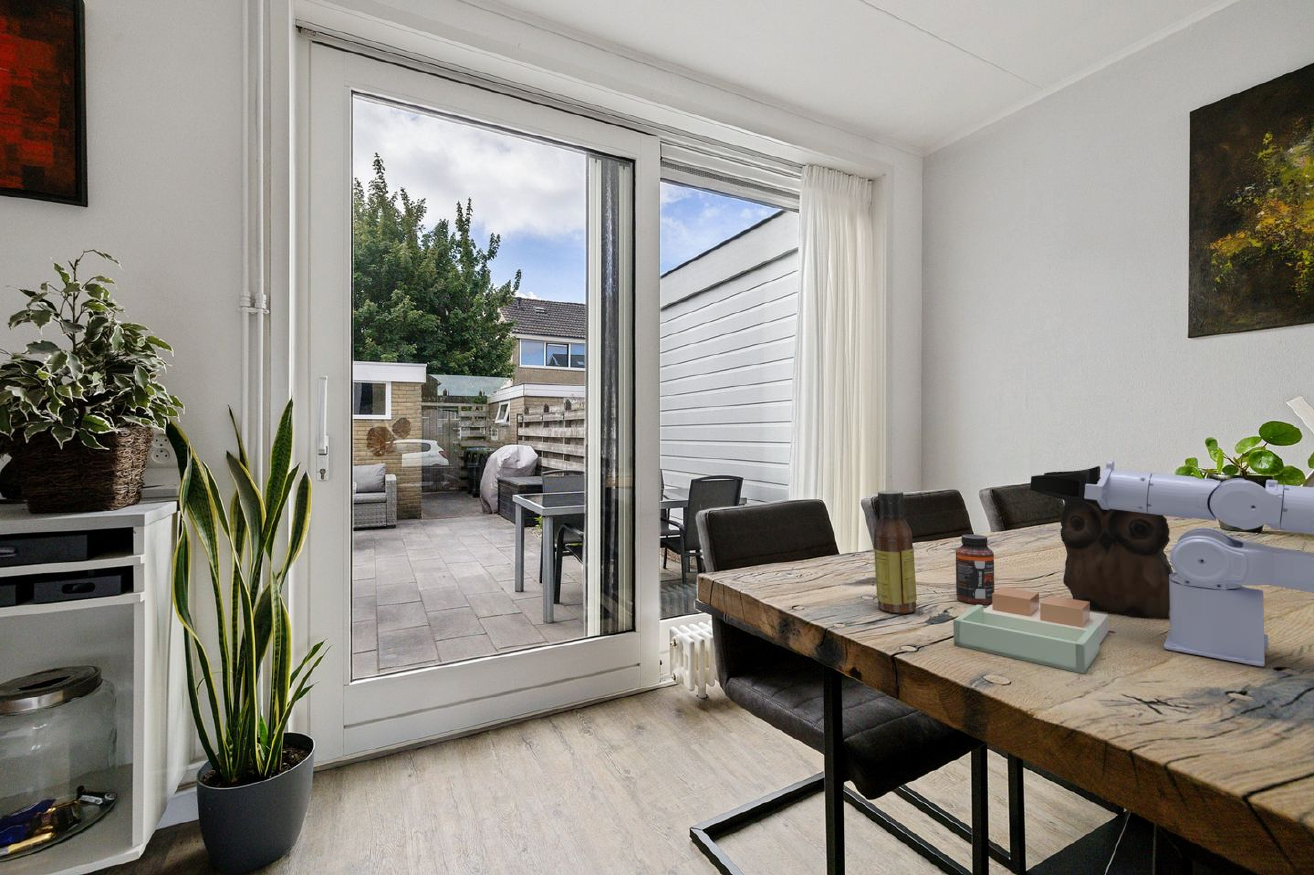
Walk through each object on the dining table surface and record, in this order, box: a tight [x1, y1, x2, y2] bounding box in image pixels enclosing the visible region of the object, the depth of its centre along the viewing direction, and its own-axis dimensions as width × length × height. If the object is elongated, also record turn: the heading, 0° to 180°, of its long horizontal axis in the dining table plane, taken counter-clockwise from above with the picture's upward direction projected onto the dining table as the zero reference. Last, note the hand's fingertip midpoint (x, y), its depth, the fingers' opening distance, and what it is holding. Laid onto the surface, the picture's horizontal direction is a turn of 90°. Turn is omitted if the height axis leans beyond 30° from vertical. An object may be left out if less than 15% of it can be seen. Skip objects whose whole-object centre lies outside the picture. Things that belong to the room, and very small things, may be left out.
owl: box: [1059, 499, 1174, 620], centre depth 98 cm, size 13×13×20 cm
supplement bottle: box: [955, 534, 995, 605], centre depth 105 cm, size 6×6×11 cm
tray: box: [952, 604, 1100, 675], centre depth 82 cm, size 15×10×4 cm, turn 45°
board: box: [983, 603, 1109, 645], centre depth 89 cm, size 14×10×2 cm
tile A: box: [1039, 595, 1091, 628], centre depth 86 cm, size 5×5×2 cm
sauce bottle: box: [873, 490, 918, 615], centre depth 101 cm, size 6×6×20 cm
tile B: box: [991, 586, 1040, 616], centre depth 91 cm, size 5×5×2 cm
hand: (1037, 480), depth 93 cm, fingers open, 7 cm apart
